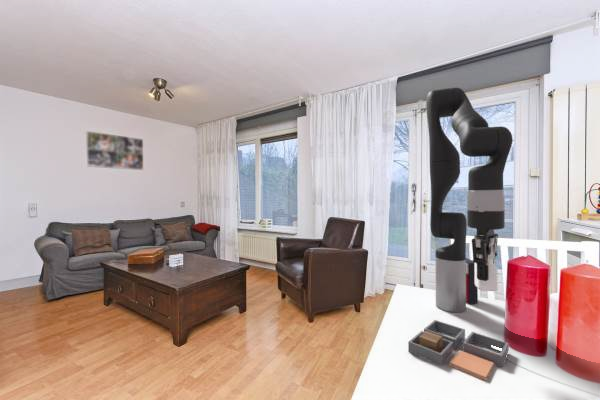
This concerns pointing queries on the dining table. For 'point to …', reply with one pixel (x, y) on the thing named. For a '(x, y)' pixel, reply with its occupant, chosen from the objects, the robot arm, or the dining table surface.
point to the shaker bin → (486, 341)
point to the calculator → (471, 283)
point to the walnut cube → (431, 341)
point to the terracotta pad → (472, 364)
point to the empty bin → (447, 329)
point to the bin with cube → (430, 354)
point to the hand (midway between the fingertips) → (485, 277)
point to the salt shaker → (493, 276)
